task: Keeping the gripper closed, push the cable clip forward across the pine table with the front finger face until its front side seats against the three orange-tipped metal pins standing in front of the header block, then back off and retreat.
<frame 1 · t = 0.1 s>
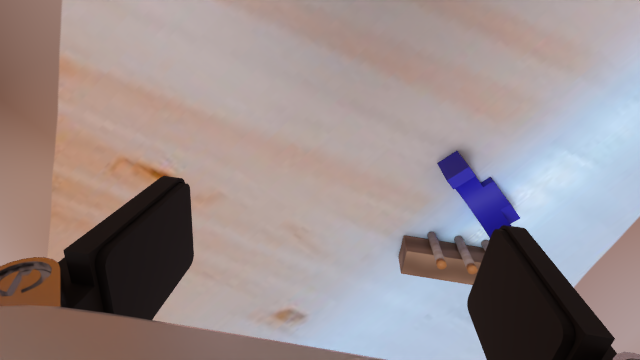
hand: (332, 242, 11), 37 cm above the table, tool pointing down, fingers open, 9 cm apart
pin header: (458, 239, 52), on the table
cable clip: (474, 184, 48), on the table
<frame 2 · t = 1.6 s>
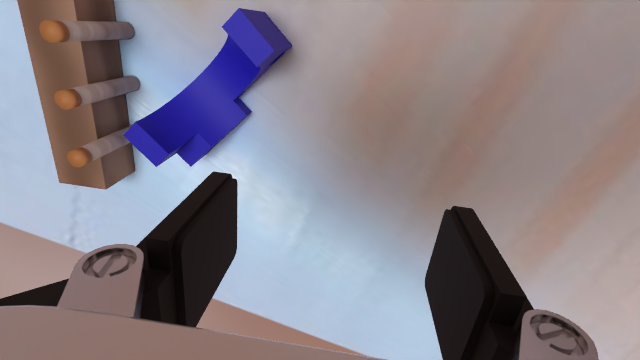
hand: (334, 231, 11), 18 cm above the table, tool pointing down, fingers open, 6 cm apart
pin header: (133, 83, 28), on the table
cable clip: (233, 89, 28), on the table
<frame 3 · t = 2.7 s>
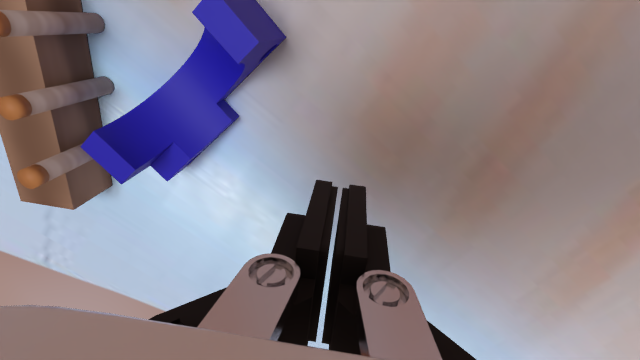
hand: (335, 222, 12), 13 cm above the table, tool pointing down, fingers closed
pin header: (105, 85, 24), on the table
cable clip: (218, 89, 24), on the table
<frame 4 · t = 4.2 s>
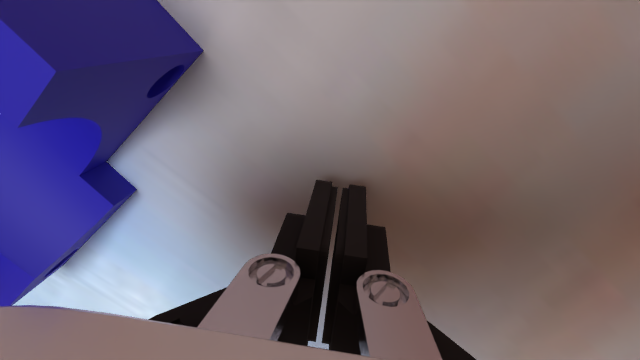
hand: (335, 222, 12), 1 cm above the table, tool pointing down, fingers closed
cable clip: (96, 144, 13), on the table
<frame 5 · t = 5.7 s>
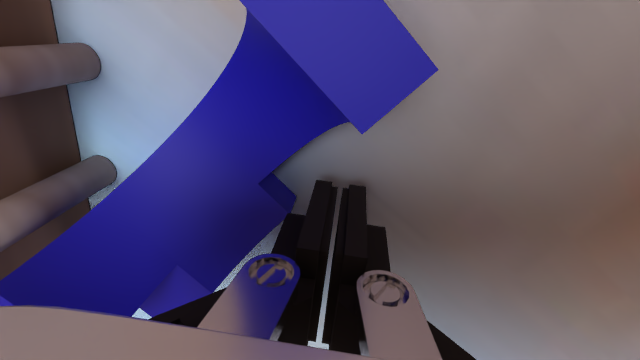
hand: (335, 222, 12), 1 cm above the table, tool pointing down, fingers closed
pin header: (101, 170, 13), on the table
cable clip: (255, 151, 13), on the table
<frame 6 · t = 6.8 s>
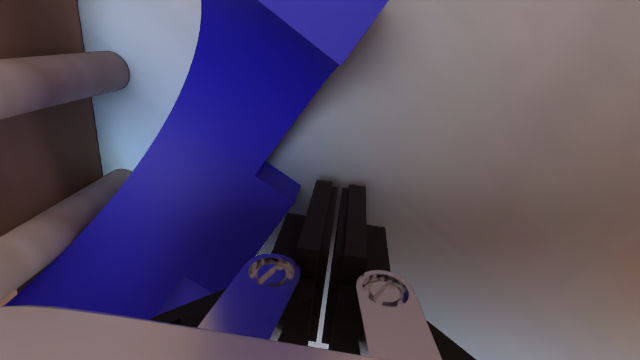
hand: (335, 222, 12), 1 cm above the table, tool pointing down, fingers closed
pin header: (124, 184, 13), on the table
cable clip: (248, 144, 12), on the table, touching gripper, pin header
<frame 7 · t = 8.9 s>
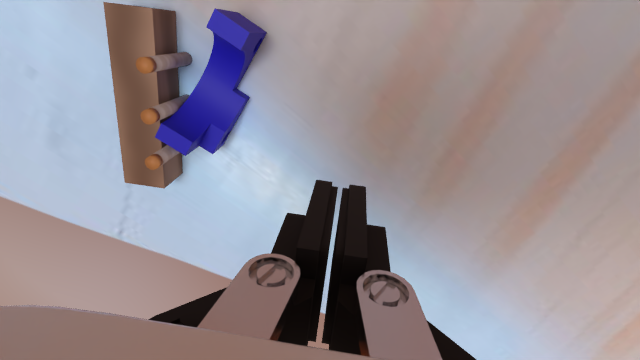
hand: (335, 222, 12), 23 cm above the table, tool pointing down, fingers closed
pin header: (187, 100, 34), on the table
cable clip: (231, 83, 34), on the table
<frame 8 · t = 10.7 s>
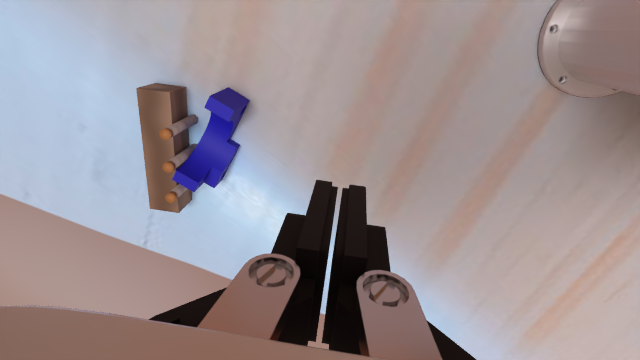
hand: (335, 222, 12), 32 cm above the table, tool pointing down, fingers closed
pin header: (194, 148, 47), on the table
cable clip: (226, 135, 46), on the table
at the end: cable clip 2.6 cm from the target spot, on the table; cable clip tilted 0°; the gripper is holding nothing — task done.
